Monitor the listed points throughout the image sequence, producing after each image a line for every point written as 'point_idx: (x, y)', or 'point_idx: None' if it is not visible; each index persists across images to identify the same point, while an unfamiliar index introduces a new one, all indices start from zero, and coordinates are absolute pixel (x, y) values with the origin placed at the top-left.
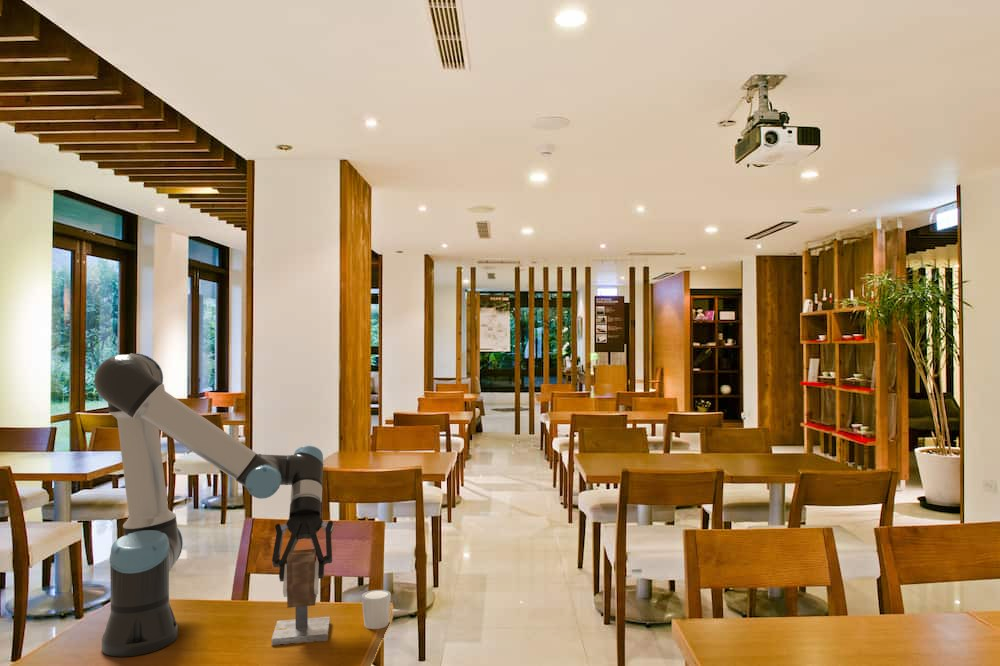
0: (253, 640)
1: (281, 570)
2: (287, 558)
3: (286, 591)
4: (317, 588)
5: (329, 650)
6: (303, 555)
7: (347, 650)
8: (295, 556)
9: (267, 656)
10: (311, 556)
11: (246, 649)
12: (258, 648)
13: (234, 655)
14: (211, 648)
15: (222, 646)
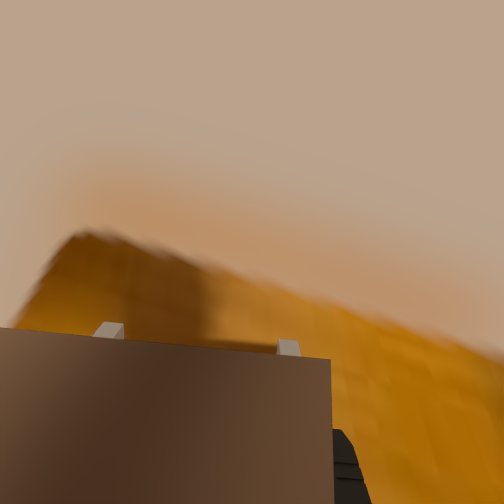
0: (362, 431)
1: (353, 499)
2: (321, 364)
3: (277, 349)
4: (103, 324)
5: (141, 284)
6: (101, 440)
7: (96, 269)
8: (218, 430)
9: (302, 299)
10: (9, 348)
11: (368, 363)
12: (335, 359)
13: (391, 332)
14: (476, 405)
15: (448, 411)
